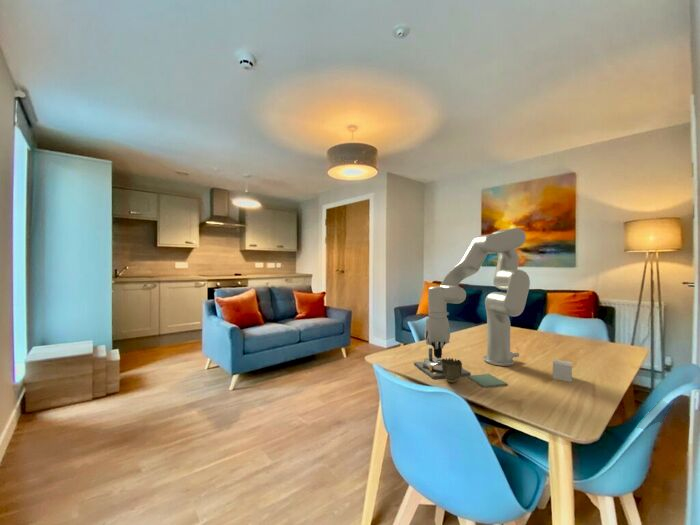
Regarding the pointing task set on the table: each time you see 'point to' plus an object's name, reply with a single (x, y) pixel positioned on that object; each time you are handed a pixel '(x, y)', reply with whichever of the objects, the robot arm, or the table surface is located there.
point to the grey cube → (562, 370)
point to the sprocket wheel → (433, 363)
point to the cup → (451, 369)
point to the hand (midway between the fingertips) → (437, 357)
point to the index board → (435, 373)
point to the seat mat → (486, 380)
